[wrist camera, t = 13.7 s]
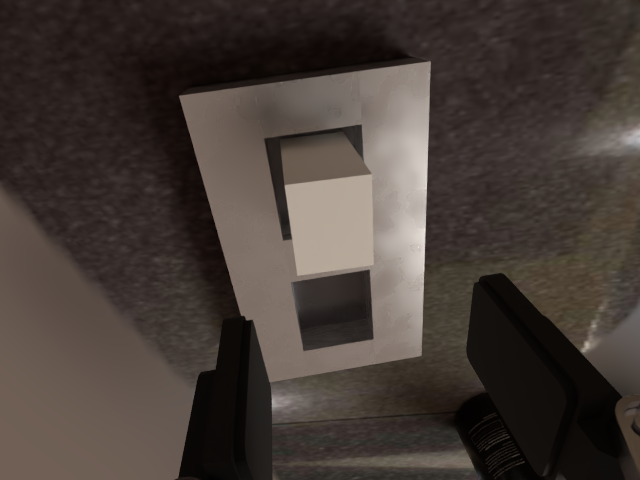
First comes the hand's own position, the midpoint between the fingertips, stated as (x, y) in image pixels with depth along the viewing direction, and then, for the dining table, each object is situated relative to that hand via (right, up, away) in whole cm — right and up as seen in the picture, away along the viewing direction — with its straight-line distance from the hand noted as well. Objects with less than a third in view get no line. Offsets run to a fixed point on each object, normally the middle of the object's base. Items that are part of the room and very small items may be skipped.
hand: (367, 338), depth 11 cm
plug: (-2, +7, +12) cm, 14 cm away
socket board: (-1, +3, +15) cm, 15 cm away
